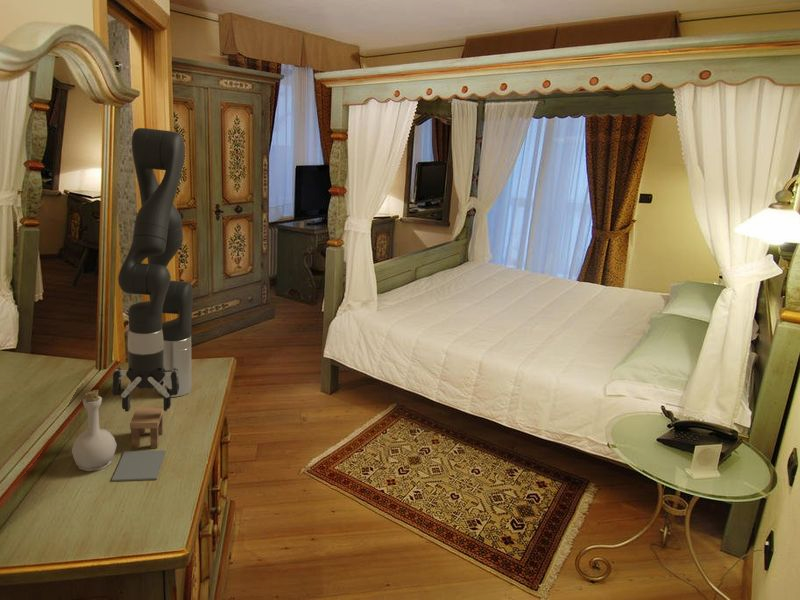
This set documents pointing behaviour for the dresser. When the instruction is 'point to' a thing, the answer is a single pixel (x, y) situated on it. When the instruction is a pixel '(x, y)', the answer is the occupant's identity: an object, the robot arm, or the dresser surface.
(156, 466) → the mat
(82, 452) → the potion bottle
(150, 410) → the small wooden bench
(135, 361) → the robot arm
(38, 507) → the dresser surface
